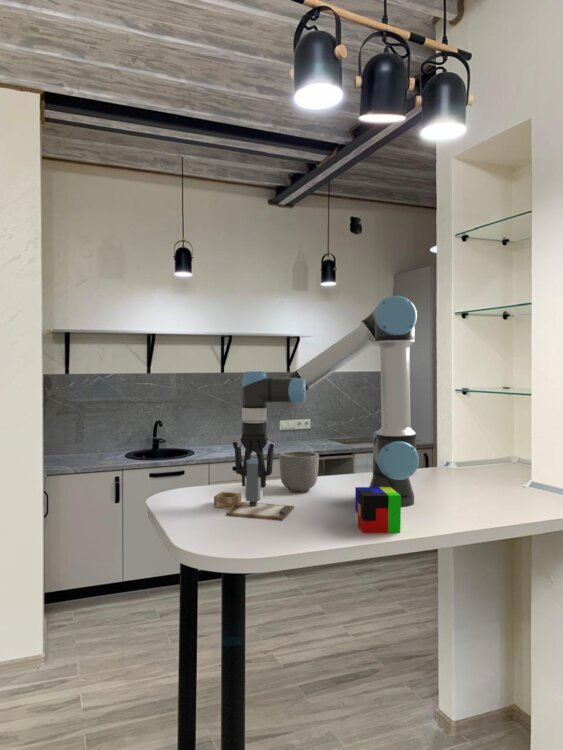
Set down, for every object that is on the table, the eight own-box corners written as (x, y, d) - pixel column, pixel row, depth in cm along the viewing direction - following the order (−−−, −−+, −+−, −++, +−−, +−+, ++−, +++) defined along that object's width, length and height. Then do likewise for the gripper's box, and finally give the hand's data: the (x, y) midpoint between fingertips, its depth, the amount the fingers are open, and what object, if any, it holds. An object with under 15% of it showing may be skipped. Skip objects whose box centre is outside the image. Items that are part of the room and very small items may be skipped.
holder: (241, 503, 174) (241, 493, 174) (234, 509, 167) (234, 498, 167) (221, 502, 175) (221, 491, 175) (213, 507, 169) (213, 496, 169)
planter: (272, 493, 188) (273, 455, 188) (287, 485, 201) (287, 449, 201) (311, 497, 183) (311, 458, 183) (323, 488, 196) (324, 452, 196)
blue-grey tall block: (260, 504, 170) (261, 459, 170) (257, 506, 166) (258, 460, 167) (249, 503, 171) (250, 458, 171) (245, 506, 167) (246, 460, 168)
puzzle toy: (355, 522, 155) (355, 487, 154) (389, 522, 155) (390, 486, 155) (363, 533, 145) (363, 495, 144) (400, 532, 145) (400, 495, 145)
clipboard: (294, 507, 169) (294, 503, 169) (282, 520, 156) (282, 515, 156) (242, 503, 174) (242, 499, 174) (226, 515, 160) (226, 510, 160)
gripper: (283, 421, 170) (282, 496, 170) (233, 419, 174) (232, 492, 175) (276, 423, 163) (276, 502, 163) (224, 421, 167) (224, 498, 168)
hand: (253, 497), depth 169 cm, fingers closed on blue-grey tall block, 3 cm apart
